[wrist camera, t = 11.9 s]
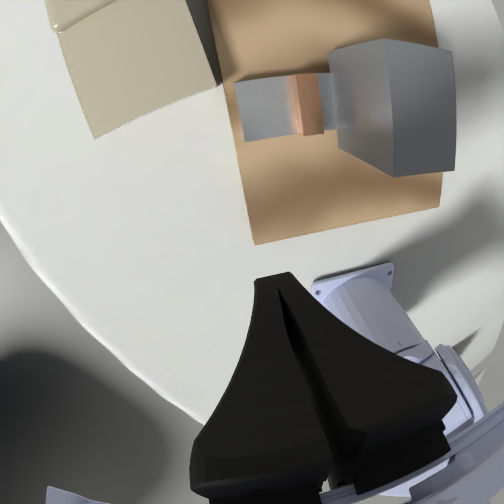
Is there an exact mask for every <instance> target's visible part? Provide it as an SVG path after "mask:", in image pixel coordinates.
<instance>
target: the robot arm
mask: <svg viewBox="0 0 504 504" xmlns="http://www.w3.org/2000/svg"><path fill="white" fill-rule="evenodd" d="M394 269H395V265H394V264H393V263H392V262H388V263H385V264H381V265H377V266H373V267H370V268H366V269H362V270H358V271H354V272H351V273H347V274H343V275H339V276H335V277H331V278H327V279H323V280H319V281H315V282H314V283H313V284H312V286H311V292H312V295H311V294H310V293H309V292H308V291H307V290H306V289H305V288H304V287H303V286H302V285H301V283H300V282H299V281H298V280H297V279H296V278H295V277H294V275H293V274H292V273H290V272H285V273H280V274H276V275H272V276H267V277H262V278H258V279H256V280H255V281H254V304H253V310H252V316H251V321H250V326H249V330H248V333H247V337H246V341H245V344H244V347H243V350H242V353H241V356H240V359H239V361H238V364H237V367H236V369H235V371H234V373H233V376H232V378H231V380H230V382H229V385H228V387H227V389H226V391H225V392H224V394H223V396H222V398H221V400H220V401H219V403H218V405H217V407H216V409H215V410H214V412H213V414H212V415H211V417H210V418H209V420H208V421H207V423H206V424H205V426H204V427H203V429H202V430H201V431H200V433H199V435H198V436H197V437H196V439H195V440H194V444H193V448H192V452H191V458H190V467H189V471H190V487H191V490H192V491H193V492H195V493H196V494H199V495H201V496H203V497H205V498H208V499H209V504H353V503H356V502H359V501H361V500H364V499H367V498H370V497H372V496H375V495H377V494H380V495H388V496H411V499H410V500H408V501H405V502H403V503H401V504H490V501H489V500H490V499H491V498H493V496H495V495H496V494H497V493H498V492H499V491H500V490H501V489H502V488H503V487H504V401H503V402H502V403H501V404H499V405H498V406H497V407H496V408H494V409H493V410H492V411H490V412H489V413H488V411H487V409H486V407H485V404H484V402H483V401H484V400H483V396H482V394H481V391H480V390H479V387H478V385H477V384H476V382H475V380H474V378H473V377H472V375H471V373H470V372H469V370H468V368H467V367H466V365H465V364H464V362H463V361H462V359H461V358H460V357H459V355H458V354H457V353H456V351H455V350H454V349H453V348H452V347H451V346H449V345H443V344H439V345H438V346H437V347H436V348H435V350H436V352H437V353H438V355H439V357H440V358H441V361H442V362H441V361H440V359H439V358H438V356H437V355H436V353H435V352H434V350H433V349H432V347H431V346H430V344H429V343H428V341H427V340H424V338H423V337H422V335H421V334H420V332H419V331H418V329H417V328H416V326H415V325H414V324H413V322H412V321H411V319H410V318H409V316H408V315H407V314H406V312H405V311H404V309H403V308H402V307H401V305H400V304H399V303H398V301H397V300H396V299H395V297H394V296H393V294H392V293H391V288H392V282H393V276H394ZM389 271H390V272H389ZM388 272H389V273H388ZM318 290H319V291H318ZM316 291H318V292H316ZM442 363H443V364H442ZM444 366H445V367H444ZM445 368H446V369H445ZM447 371H448V372H447ZM327 478H328V482H329V487H330V490H331V491H328V492H324V493H321V494H319V492H322V485H323V482H324V481H326V480H327ZM46 504H109V503H103V502H98V501H93V500H89V499H87V498H85V497H83V496H80V495H77V494H74V493H71V492H68V491H64V490H61V489H57V488H54V487H50V486H49V487H47V496H46Z"/></svg>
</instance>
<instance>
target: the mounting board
mask: <svg viewBox="0 0 504 504" xmlns="http://www.w3.org/2000/svg"><path fill="white" fill-rule="evenodd" d="M206 2H207V7H208V12H209V17H210V22H211V27H212V32H213V37H214V42H215V47H216V52H217V57H218V62H219V67H220V72H221V77H222V82H223V87H224V92H225V97H226V102H227V108H228V113H229V118H230V123H231V128H232V133H233V138H234V143H235V149H236V154H237V159H238V164H239V169H240V174H241V180H242V185H243V190H244V195H245V200H246V205H247V211H248V216H249V221H250V226H251V232H252V237H253V241H254V244H255V245H260V244H264V243H269V242H274V241H278V240H283V239H288V238H292V237H297V236H302V235H306V234H311V233H316V232H321V231H325V230H330V229H335V228H340V227H344V226H349V225H354V224H359V223H364V222H368V221H373V220H378V219H383V218H388V217H392V216H397V215H402V214H407V213H412V212H417V211H422V210H427V209H431V208H436V207H439V204H440V195H441V185H442V172H437V173H428V174H419V175H411V176H403V177H396V178H393V177H391V176H389V175H387V174H386V173H384V172H382V171H380V170H379V169H377V168H375V167H373V166H372V165H370V164H368V163H366V162H364V161H362V160H361V159H359V158H357V157H355V156H353V155H351V154H349V153H347V152H345V151H343V150H341V149H339V148H338V137H337V129H335V130H325V131H324V134H319V135H311V136H302V135H300V134H293V135H287V136H280V137H274V138H268V139H262V140H256V141H250V142H244V140H243V136H242V130H241V125H240V120H239V114H238V109H237V104H236V99H235V93H234V88H233V83H236V82H242V81H248V80H255V79H262V78H270V77H279V76H289V75H294V74H306V73H330V67H329V61H328V54H327V52H329V51H333V50H336V49H340V48H344V47H348V46H352V45H356V44H360V43H364V42H369V41H374V40H379V39H391V40H398V41H404V42H410V43H416V44H421V45H426V46H431V47H435V48H438V43H437V37H436V32H435V26H434V21H433V16H432V12H431V8H430V3H429V0H206Z"/></svg>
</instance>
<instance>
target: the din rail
mask: <svg viewBox="0 0 504 504" xmlns="http://www.w3.org/2000/svg"><path fill="white" fill-rule="evenodd" d="M233 88H234V93H235V99H236V104H237V109H238V114H239V120H240V125H241V130H242V136H243V140H244V142H250V141H256V140H262V139H268V138H274V137H280V136H287V135H293V134H300V135H302V136H311V135H319V134H324V131H325V130H335V129H337V125H336V115H335V106H334V97H333V89H332V81H331V74H330V73H306V74H294V75H289V76H279V77H270V78H262V79H255V80H248V81H242V82H236V83H233Z"/></svg>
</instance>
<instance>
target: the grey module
mask: <svg viewBox="0 0 504 504" xmlns="http://www.w3.org/2000/svg"><path fill="white" fill-rule="evenodd" d="M327 54H328V61H329V67H330V74H331V81H332V89H333V97H334V106H335V115H336V125H337V137H338V148H339V149H341V150H343V151H345V152H347V153H349V154H351V155H353V156H355V157H357V158H359V159H361V160H362V161H364V162H366V163H368V164H370V165H372V166H373V167H375V168H377V169H379V170H380V171H382V172H384V173H386V174H387V175H389V176H391V177H393V178H396V177H403V176H411V175H419V174H428V173H437V172H446V171H454V169H455V154H456V93H455V78H454V68H453V59H452V52H451V51H448V50H444V49H439V48H435V47H431V46H426V45H421V44H416V43H410V42H404V41H398V40H391V39H379V40H374V41H369V42H364V43H360V44H356V45H352V46H348V47H344V48H340V49H336V50H333V51H329V52H327Z"/></svg>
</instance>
